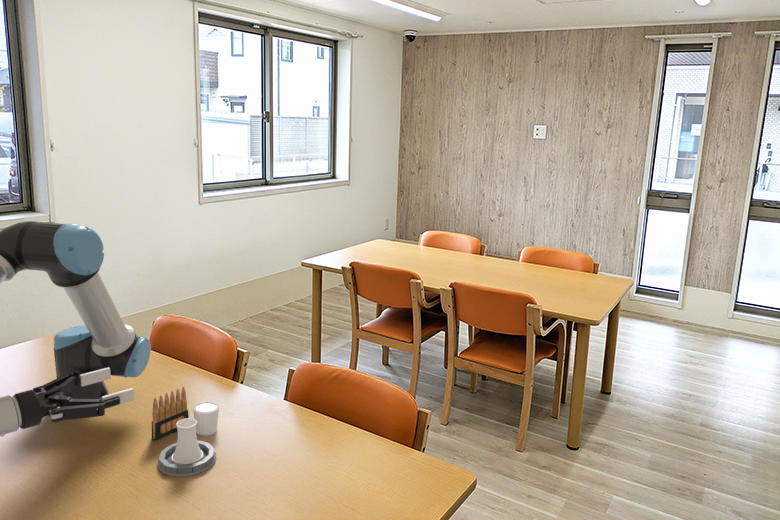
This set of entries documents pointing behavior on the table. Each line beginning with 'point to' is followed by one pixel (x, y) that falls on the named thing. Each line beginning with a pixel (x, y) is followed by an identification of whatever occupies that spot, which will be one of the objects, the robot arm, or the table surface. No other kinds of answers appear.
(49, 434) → the table surface
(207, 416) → the shot glass
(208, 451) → the socket ring
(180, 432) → the vase
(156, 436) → the ammunition clip
